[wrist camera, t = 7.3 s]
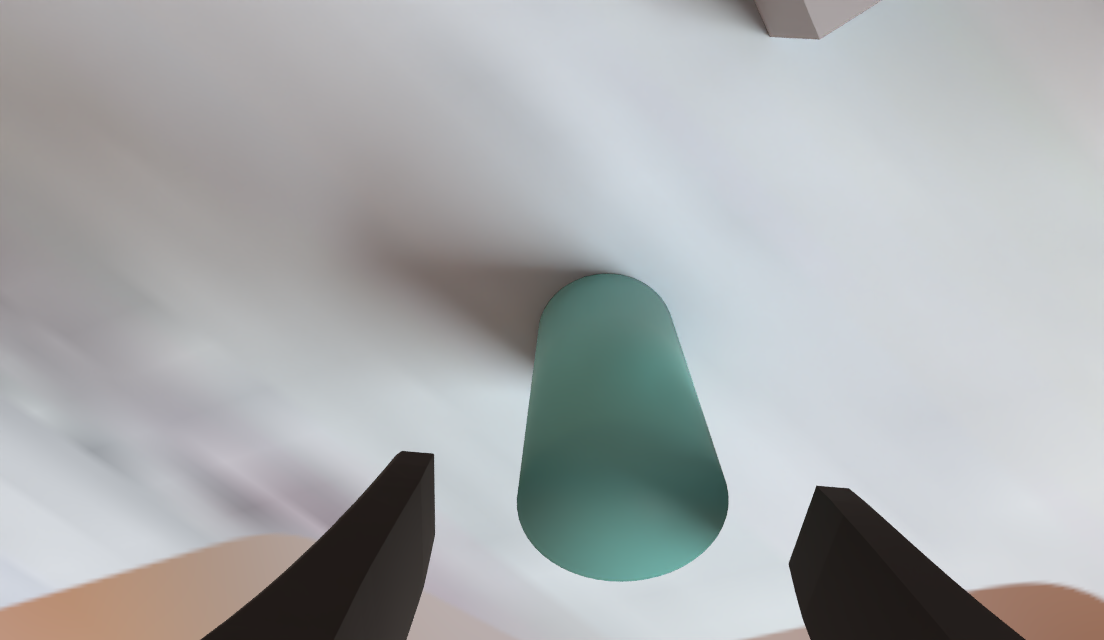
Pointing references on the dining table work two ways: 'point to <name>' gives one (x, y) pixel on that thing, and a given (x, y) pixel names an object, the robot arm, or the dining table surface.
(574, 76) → the dining table surface
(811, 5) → the socket block
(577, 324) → the dowel
